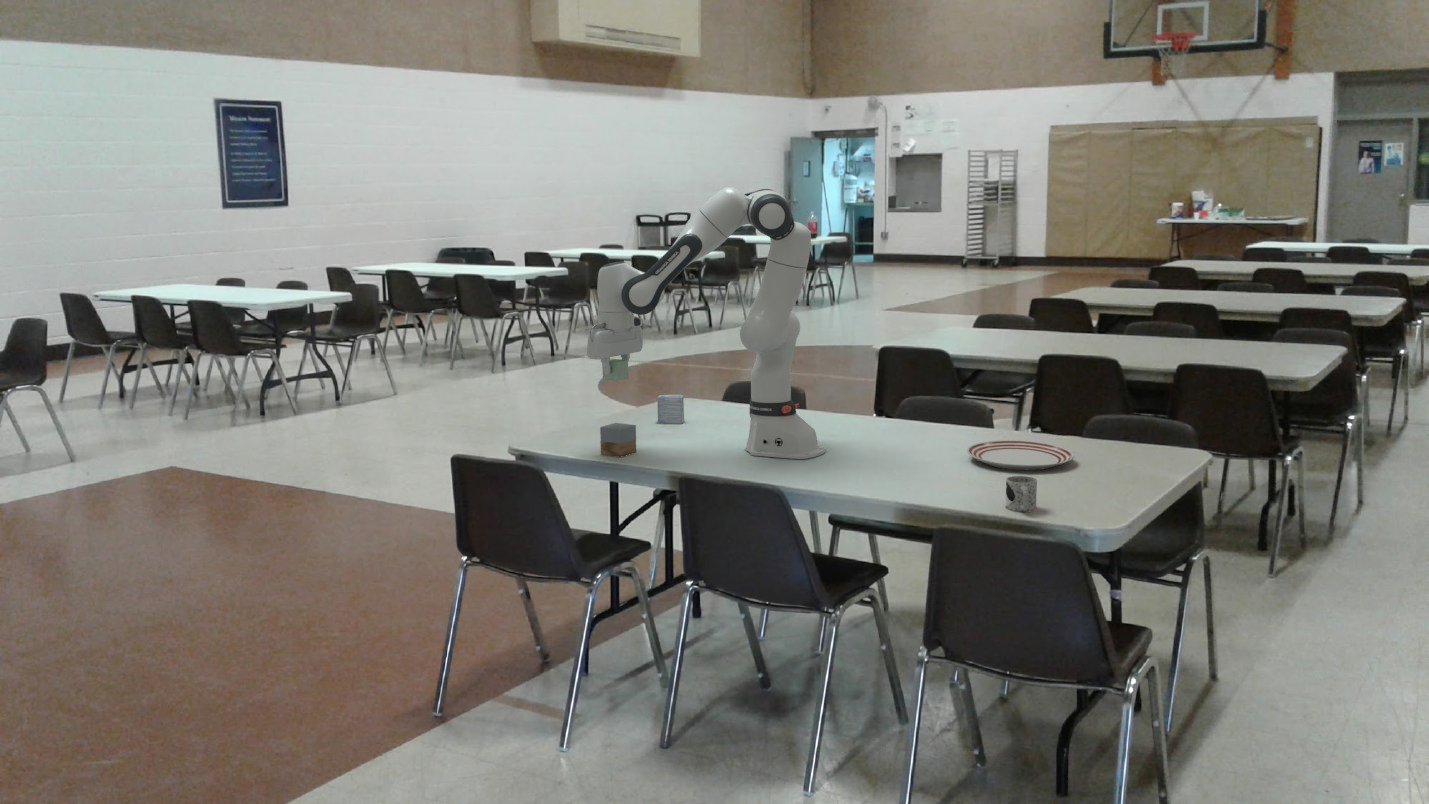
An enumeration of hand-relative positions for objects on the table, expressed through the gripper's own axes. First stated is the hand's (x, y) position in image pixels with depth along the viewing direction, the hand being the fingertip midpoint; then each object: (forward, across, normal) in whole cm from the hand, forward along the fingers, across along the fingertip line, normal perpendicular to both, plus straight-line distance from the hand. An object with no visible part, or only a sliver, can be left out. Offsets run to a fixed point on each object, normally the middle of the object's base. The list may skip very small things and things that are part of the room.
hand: (615, 371), depth 319 cm
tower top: (+19, 0, 0) cm, 19 cm away
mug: (+23, +1, -115) cm, 117 cm away
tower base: (+23, 0, 0) cm, 23 cm away
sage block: (+2, 0, 0) cm, 2 cm away
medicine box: (+23, +44, +14) cm, 52 cm away
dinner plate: (+23, +47, -98) cm, 111 cm away
